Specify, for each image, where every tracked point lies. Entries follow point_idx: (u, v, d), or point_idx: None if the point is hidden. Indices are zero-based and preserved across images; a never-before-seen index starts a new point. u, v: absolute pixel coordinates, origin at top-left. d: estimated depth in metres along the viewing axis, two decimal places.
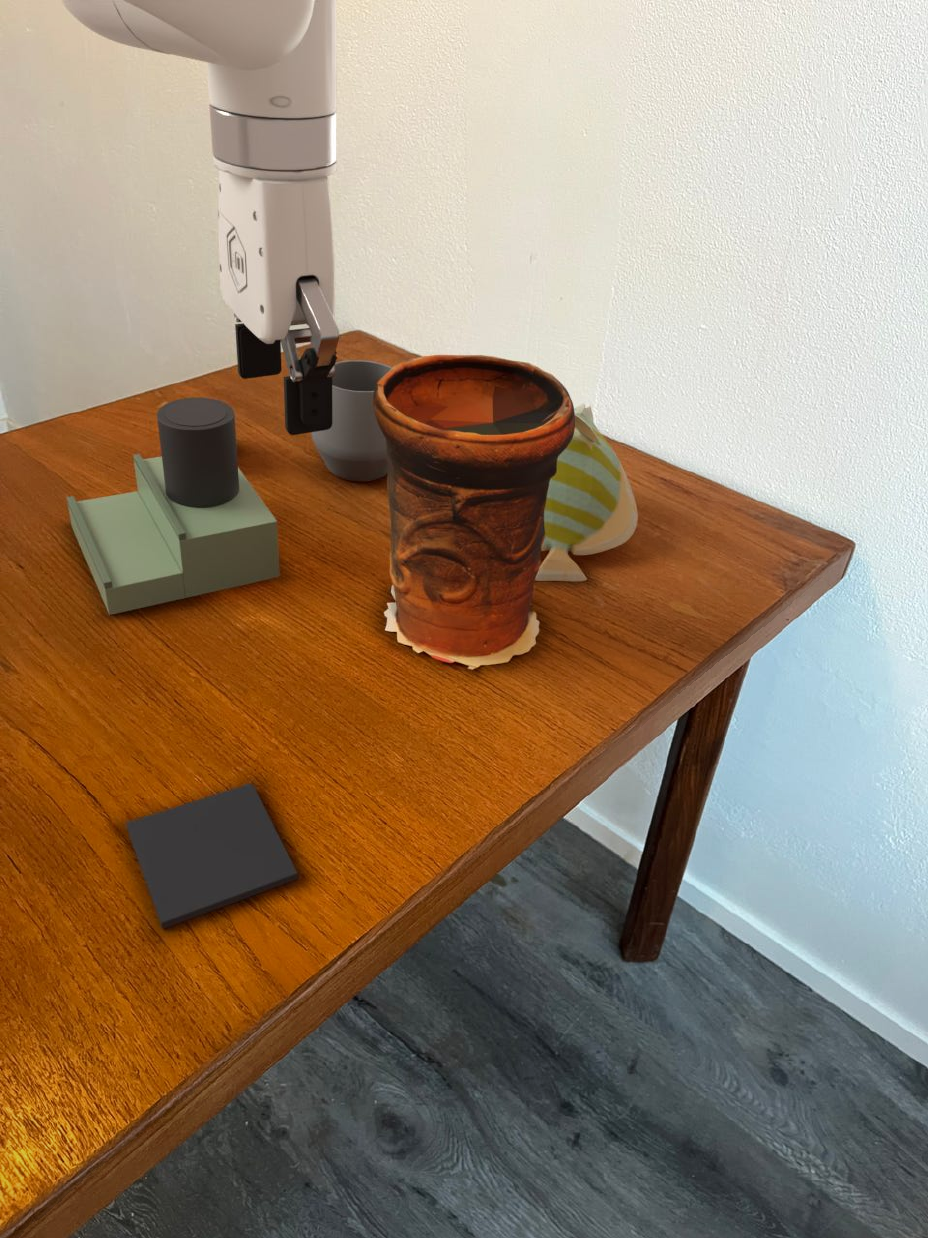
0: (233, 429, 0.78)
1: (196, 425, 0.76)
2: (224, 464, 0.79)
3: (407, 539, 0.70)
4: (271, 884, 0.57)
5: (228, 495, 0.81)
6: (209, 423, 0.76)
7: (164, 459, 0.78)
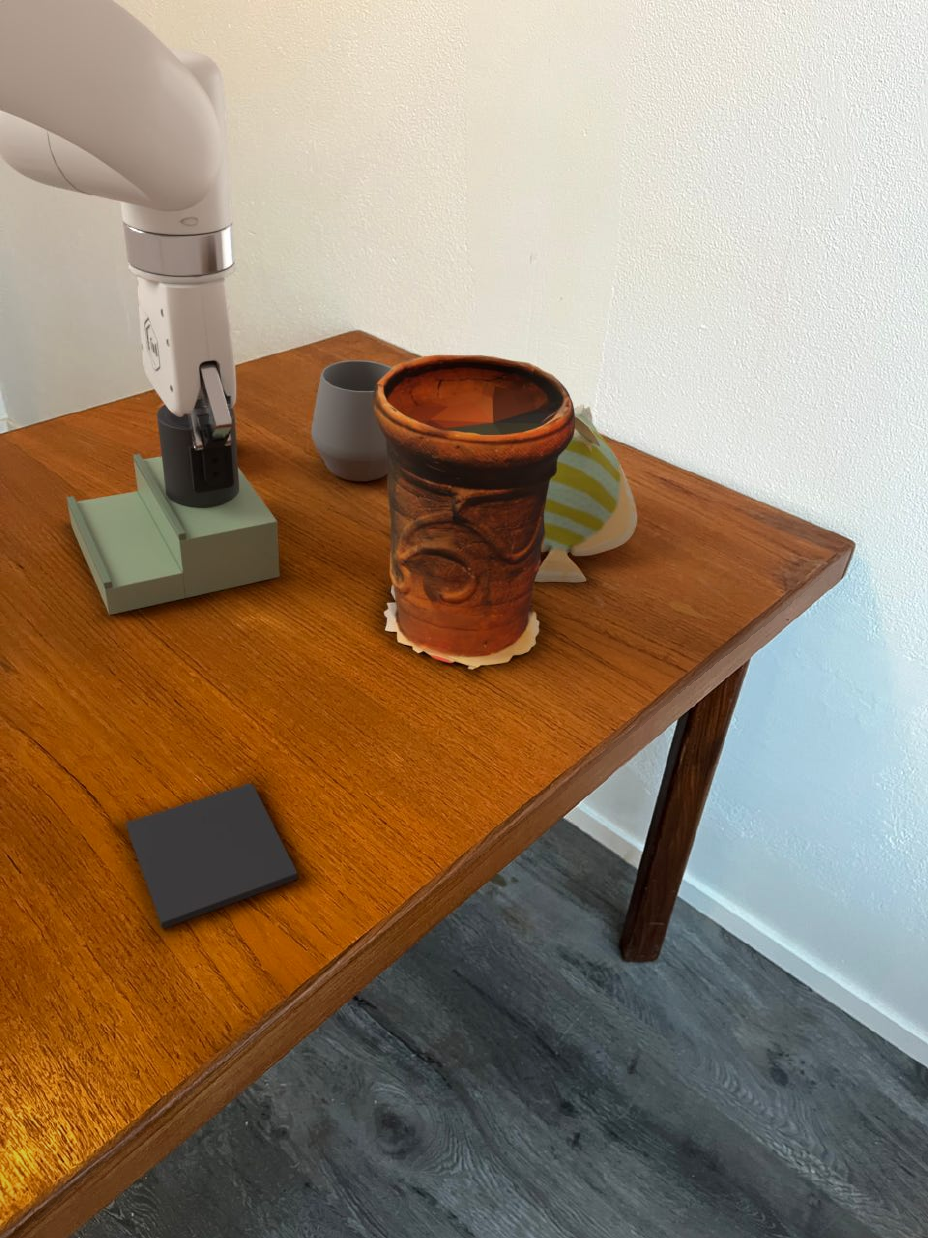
0: (233, 429, 0.78)
1: None
2: None
3: (407, 539, 0.70)
4: (271, 884, 0.57)
5: (228, 495, 0.81)
6: None
7: (164, 459, 0.78)
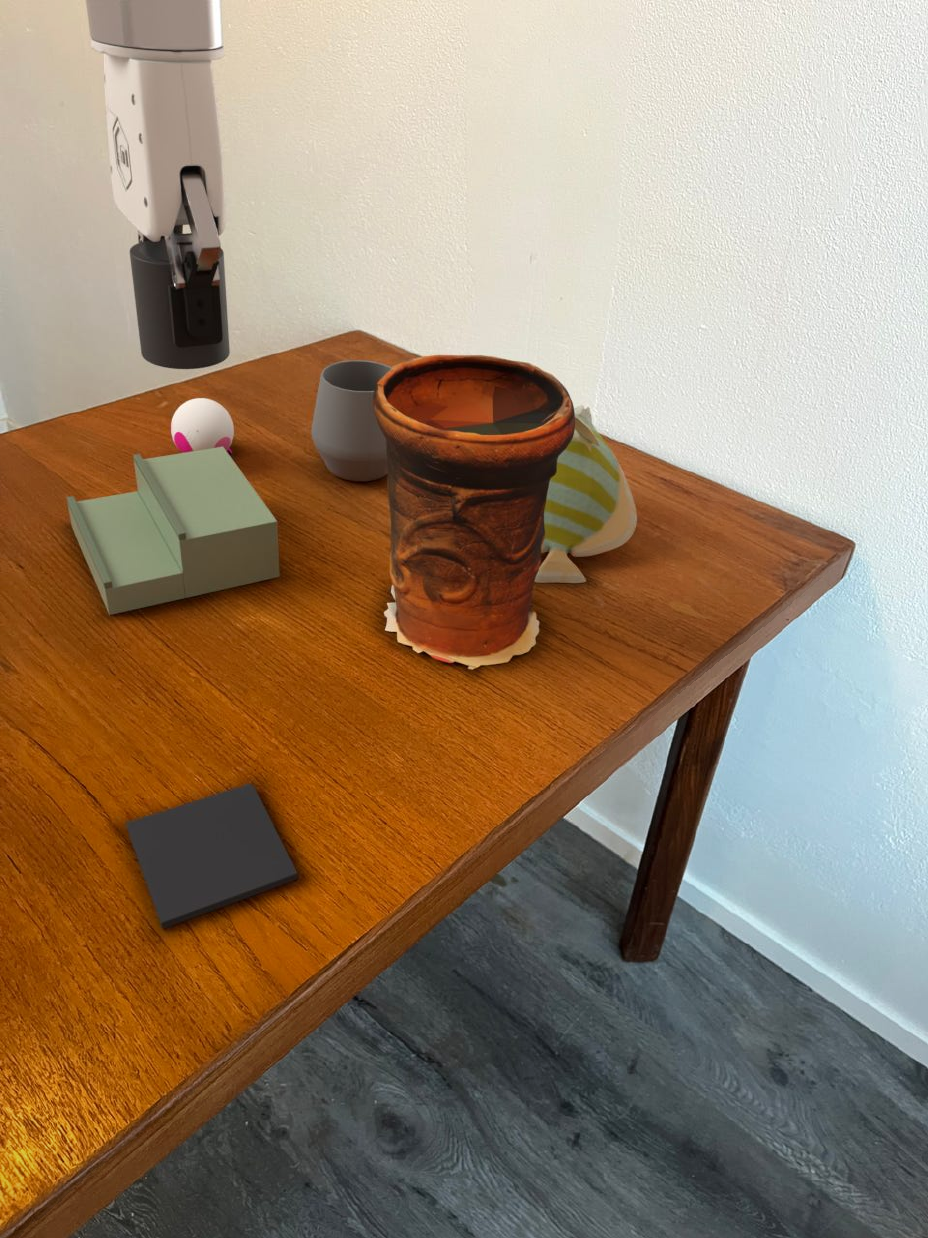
0: (222, 272, 0.65)
1: None
2: None
3: (407, 539, 0.70)
4: (271, 884, 0.57)
5: (216, 356, 0.67)
6: None
7: (139, 308, 0.65)
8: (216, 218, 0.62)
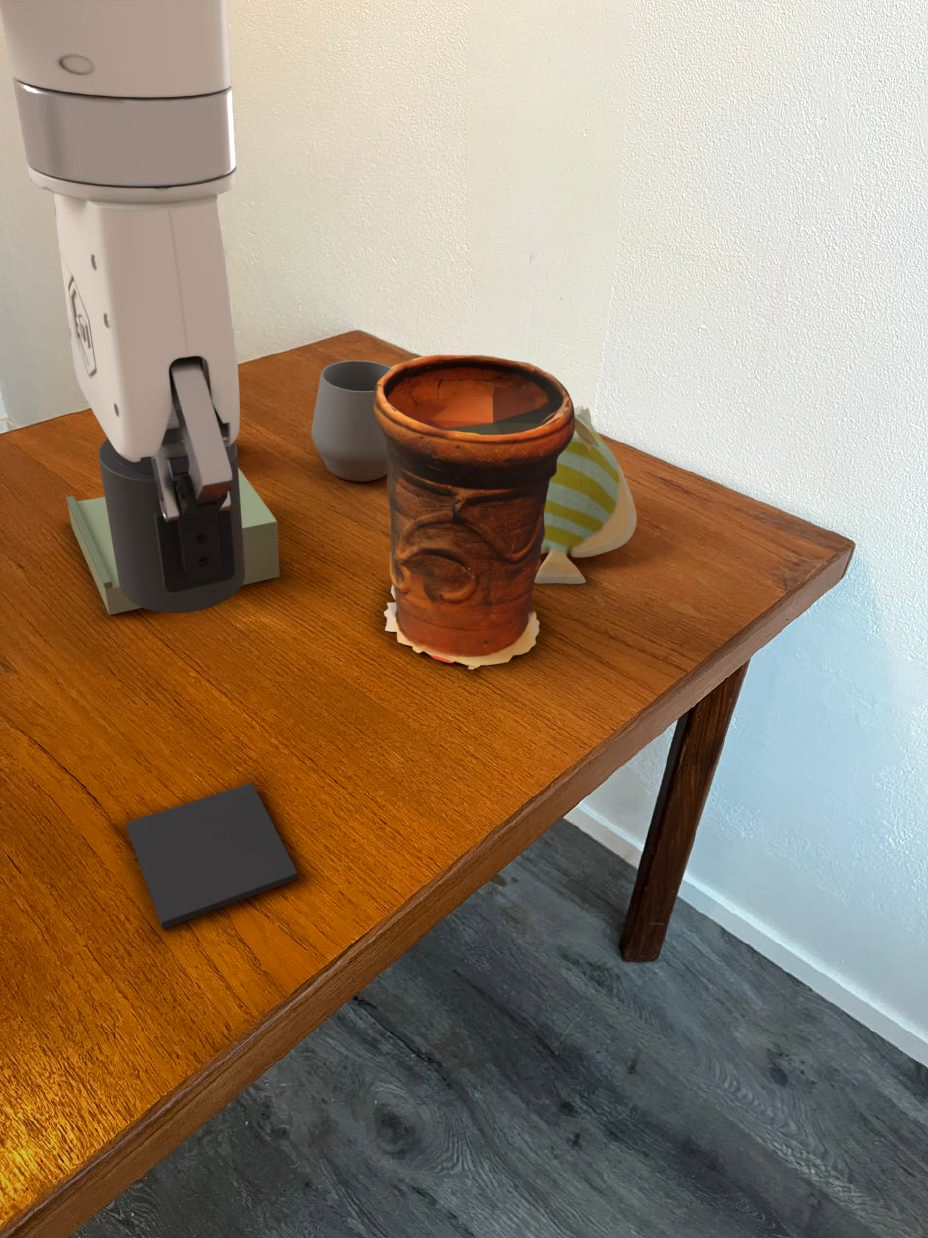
0: (235, 477, 0.44)
1: None
2: None
3: (407, 539, 0.70)
4: (271, 884, 0.57)
5: (226, 589, 0.46)
6: None
7: (113, 531, 0.44)
8: None
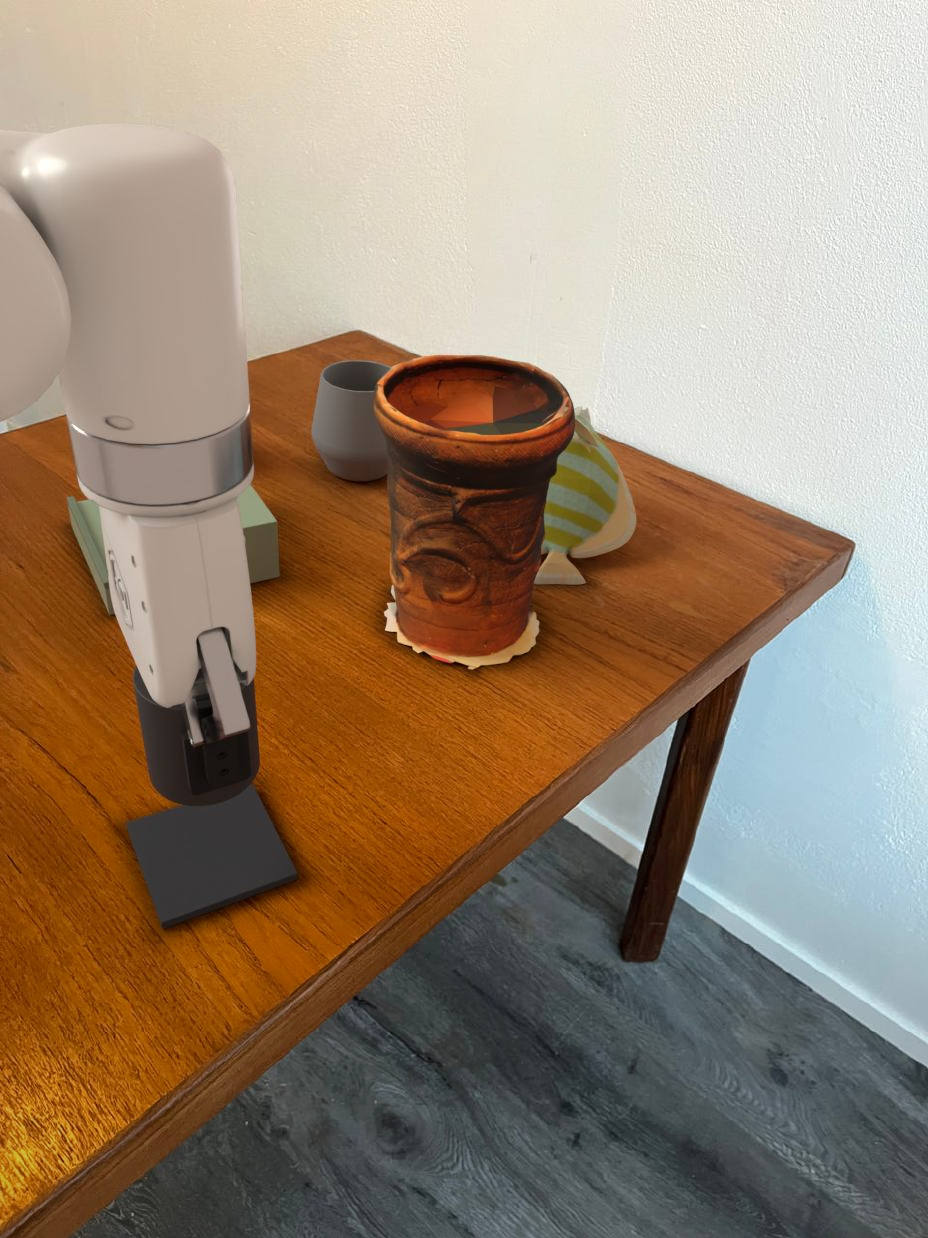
0: (251, 692, 0.51)
1: None
2: None
3: (407, 539, 0.70)
4: (271, 884, 0.57)
5: (244, 782, 0.53)
6: None
7: (145, 740, 0.51)
8: None
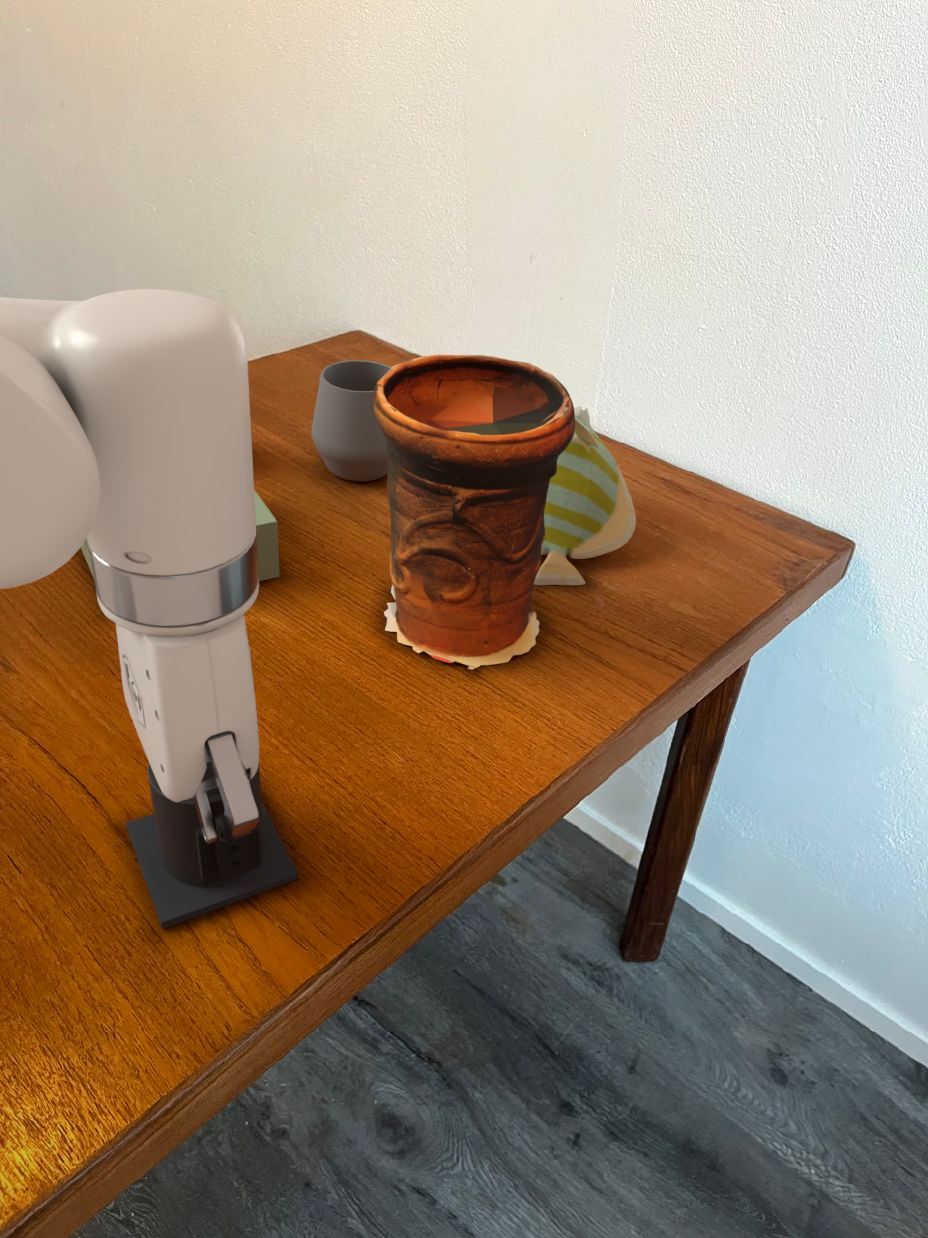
0: (257, 783, 0.55)
1: None
2: None
3: (407, 539, 0.70)
4: (271, 884, 0.57)
5: None
6: None
7: (158, 827, 0.55)
8: None
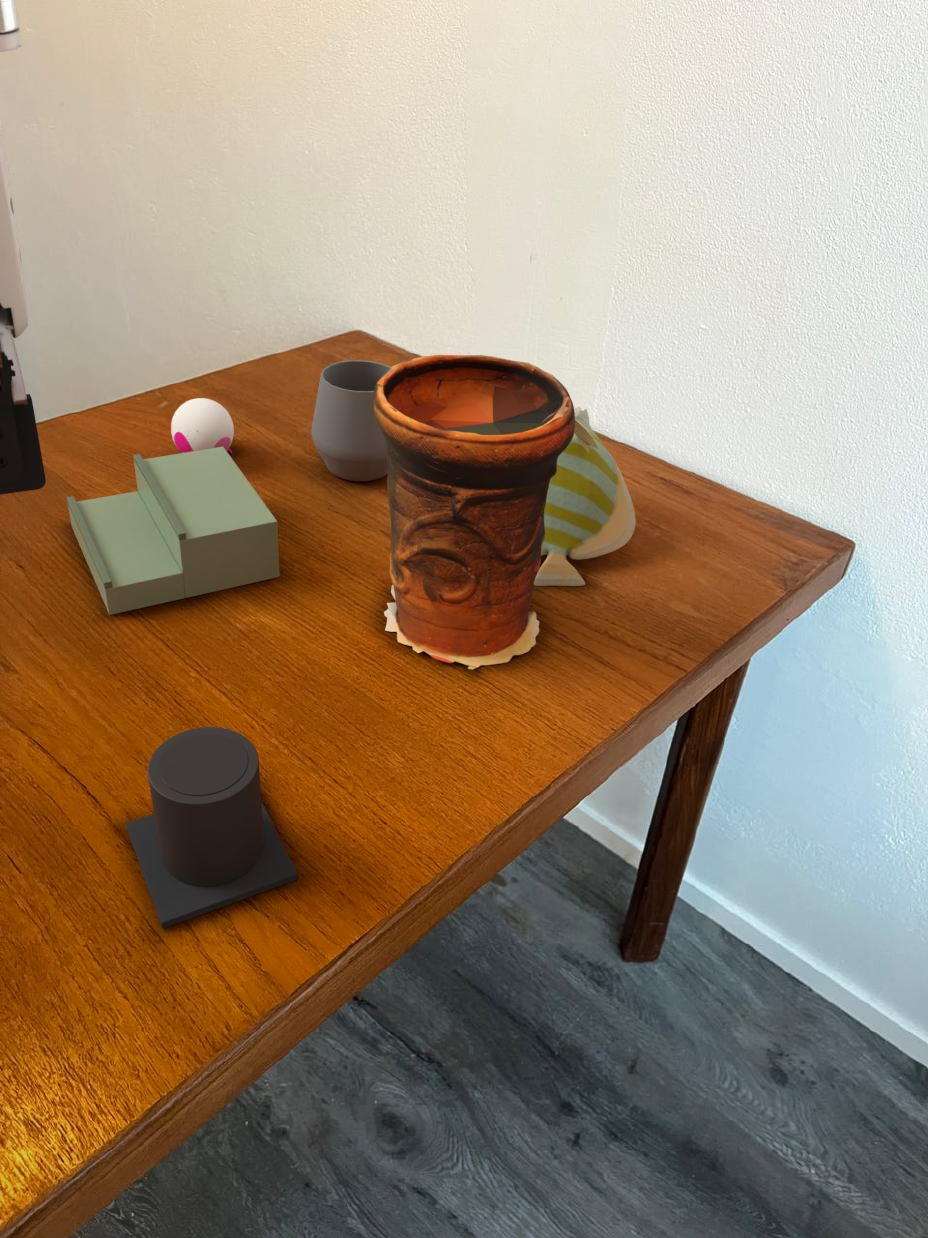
0: (257, 783, 0.55)
1: (204, 794, 0.52)
2: (244, 832, 0.55)
3: (407, 539, 0.70)
4: (271, 884, 0.57)
5: (249, 864, 0.57)
6: (223, 788, 0.53)
7: (158, 827, 0.55)
8: None
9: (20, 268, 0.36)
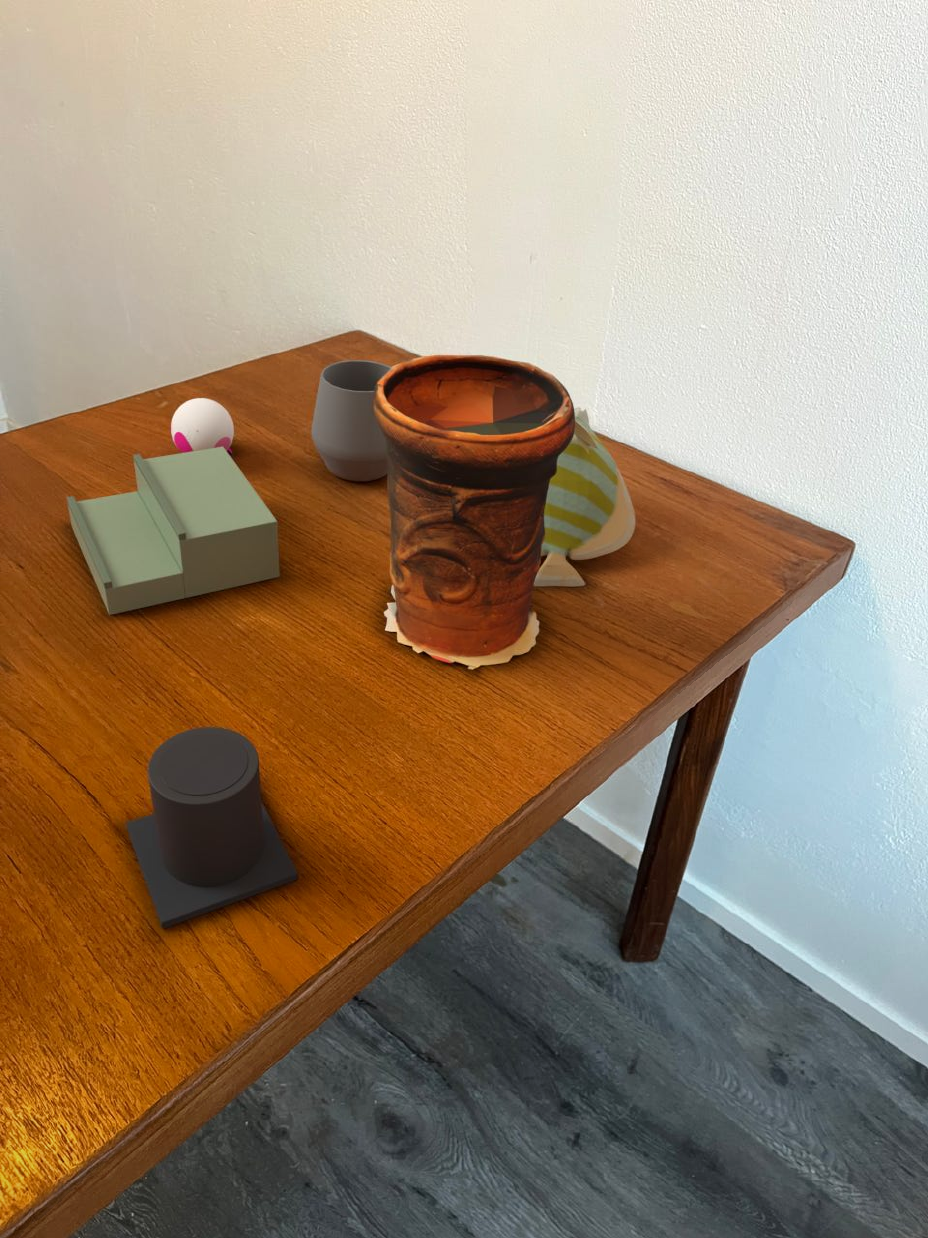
0: (257, 783, 0.55)
1: (204, 794, 0.52)
2: (244, 832, 0.55)
3: (407, 539, 0.70)
4: (271, 884, 0.57)
5: (249, 864, 0.57)
6: (223, 788, 0.53)
7: (158, 827, 0.55)
8: None
9: None
